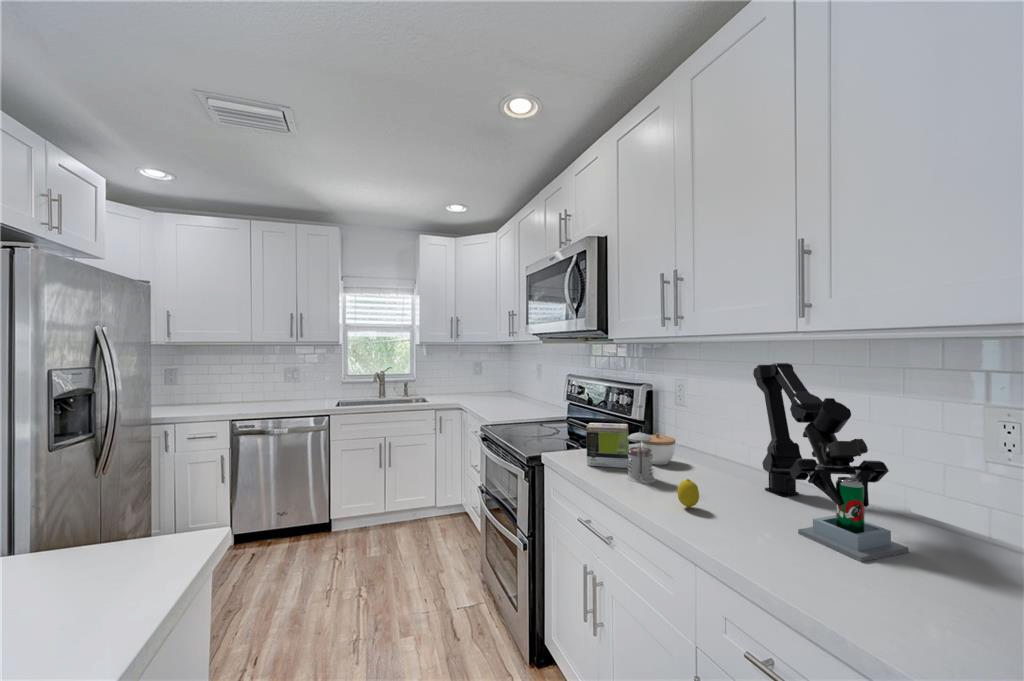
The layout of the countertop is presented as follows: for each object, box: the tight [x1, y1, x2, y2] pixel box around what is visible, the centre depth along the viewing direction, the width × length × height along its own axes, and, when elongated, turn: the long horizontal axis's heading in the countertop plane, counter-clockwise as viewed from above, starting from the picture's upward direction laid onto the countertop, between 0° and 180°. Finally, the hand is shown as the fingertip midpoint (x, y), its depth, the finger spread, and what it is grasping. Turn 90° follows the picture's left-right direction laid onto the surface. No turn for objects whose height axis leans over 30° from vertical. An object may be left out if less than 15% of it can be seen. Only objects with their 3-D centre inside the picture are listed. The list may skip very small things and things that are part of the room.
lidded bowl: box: [641, 432, 676, 466], centre depth 164 cm, size 13×13×11 cm
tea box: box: [585, 422, 630, 469], centre depth 162 cm, size 15×10×15 cm
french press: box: [624, 403, 657, 484], centre depth 144 cm, size 10×12×25 cm
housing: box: [797, 514, 910, 563], centre depth 97 cm, size 14×14×4 cm
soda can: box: [835, 476, 866, 534], centre depth 97 cm, size 5×5×12 cm
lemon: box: [676, 478, 700, 509], centre depth 118 cm, size 6×6×8 cm
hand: (853, 505), depth 96 cm, fingers closed on soda can, 5 cm apart
